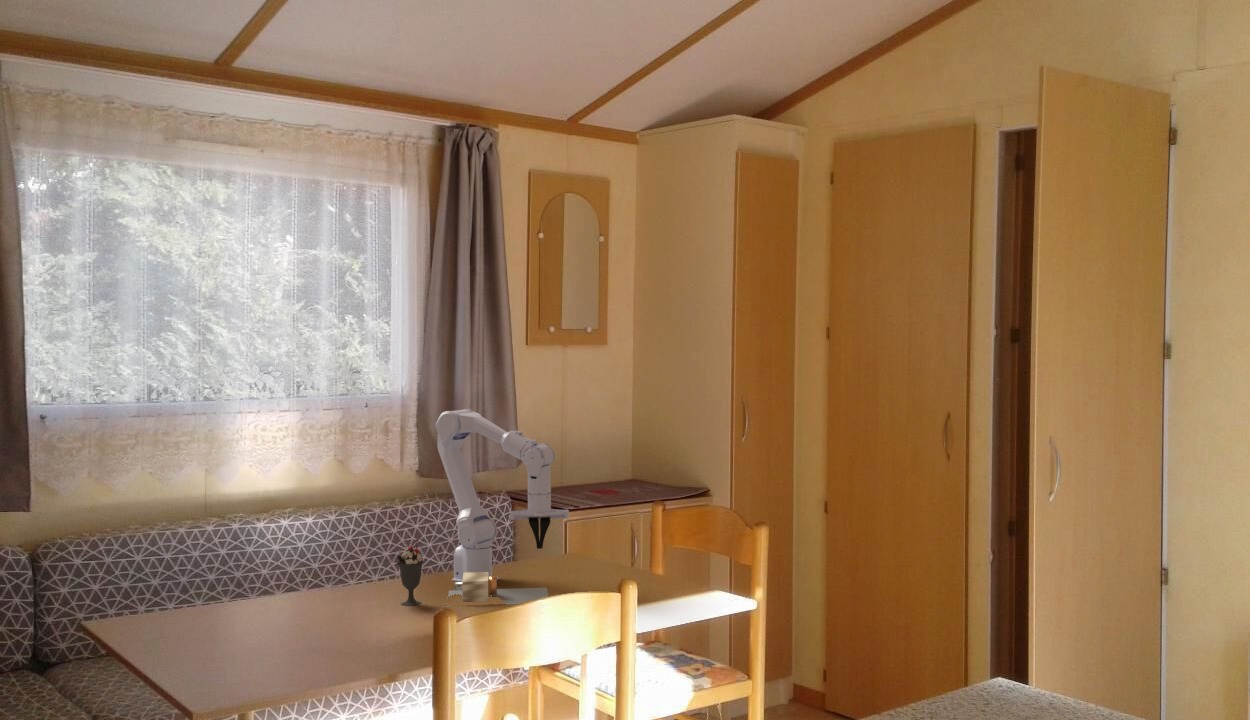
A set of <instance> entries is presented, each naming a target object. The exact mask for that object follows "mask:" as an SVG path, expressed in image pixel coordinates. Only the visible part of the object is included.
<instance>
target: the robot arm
mask: <svg viewBox="0 0 1250 720" xmlns="http://www.w3.org/2000/svg"><path fill="white" fill-rule="evenodd" d="M434 425H435V429H436V431H437V445H436V447H437V451H438V454H439V456H440V459H441V462H442V465H443V468H444V471H445V474H446V477H447V480H448V483H449V485H450V489H451V491H452V495H453V497H454V500H455V504H456V506H457V509H458V511H459V514H458V515H457V519H456V521H455V522H456V525H457V526H456V527H457V538H458V541H459V543H460V545H458V546H457V547H456V548H455V549H454V553H453V578H452V579H451V581H452V582H462V581H463V573H467V572H489V576H493V564H492V563H493V556H492V555H493V553H492V549H493V547H492V546H493V540H494V539H495V538H496V536H497V532H498V529H497V525H496V522H495V521H494V520H493V519H492V518H491V516H490V514H489V511H488V510H487V509H486V508H484V507H482V506H481V503H480V501H479V497H478V495H477V493H476V489H475V487H474V484H473V481H472V477H471V474H470V473H469V469H468V467H467V464H466V461H465V458H464V456H463V455H464V454H463V452H462V446H463V444H464V442H465V440H466V439H467V438H468V437H469V436H470V435H471V434H472V433H477V434H479V435H482V436H483V437H485V438H488V439H490V440H492V441H495V442H497V443H498V444H500V445H501V448H502V450H503V452H505V453H507V454H509V455H511V456H512V457H515V458H517V459H518V460H520V461H522V462H523V464H524V466H525V467H526V474H527V509H520V510H510V511H509V521H510V520H511V521H516V520H528V523H529V524H528V525H529V526H530V528H531V530H532V531H531V532H532V533H533V536H534V540H535V543H536V549H537V550H538V549H541V550H542V549H543V547H544V541H545V537H546V534H547V532H548V530H549V527H550V525H551V519H564V520H565V519H567V520H569V519H570V511H569V509H553V508H552V498H551V497H552V495H551V493H552V484H551V483H552V479H551V478H552V477H551V476H552V475H551V469H552V468H551V465H553V463H554V461H555V458H556V457H555V456H556V454H555V451H554V449H553V448H552V447H551V446H550V445H549V444H548V443H546V442H545V443H538V440H537V439H531V438H529V437H527V436H525V435H524V434H523V431H521V430H510V431H506V430H505V429H503V428H501V427H500V426H498V425H496V424H495V423H493V422H491V421H490V420H488V419H487V418H485V417H484V416H482V415H481V414H480V412H476V411H473V410H472V409H470V408H463V409H459V410H446V411H443V412H442V413H441V414H440V415H439V416H438V418H437V420H436V422H435V424H434ZM498 580H500V577H498V576H497V581H498Z"/></svg>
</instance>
